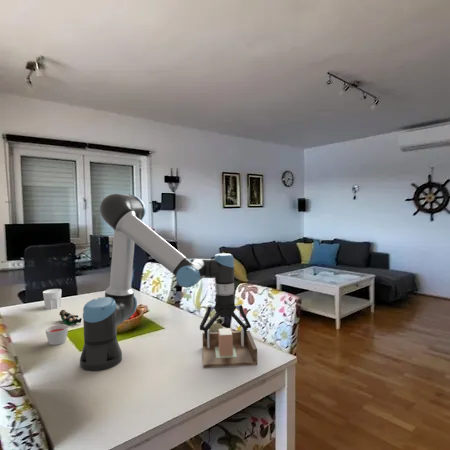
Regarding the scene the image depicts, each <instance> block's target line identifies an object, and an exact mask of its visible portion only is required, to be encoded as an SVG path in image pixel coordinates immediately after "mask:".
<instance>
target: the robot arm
mask: <svg viewBox="0 0 450 450" xmlns="http://www.w3.org/2000/svg"><path fill="white" fill-rule="evenodd" d="M99 212H100V216H101V218H102V219H103V221H105V223H106V224H108V225H109V226H110V227H111V228H112V229H113V239H112V240H113V242H112V250H111V251H112V254H111V264H110V265H111V266H110V275H109V277H110V278H109V286H108V287H107V288H106V289H105V290H104V291H105V292H104V296H103V297H97V298H94V299H91V300H89V301H87V302H86V303H85V304H84V306H83V310H82V320H83V323H82V324H83V340H84V341H83V343H84V344H83V347H82V351H81V353H80V358H79V366H80V368H81V369H82V370H84V371H92V372H93V371H94V372H95V371H96V372H97V371H103V370H107V369H110V368H112V367H114V366H116V365H118V364H120V362H121V361H122V360H123V353H122V349H121V346H120V345H119V341H118V338H117V337H118V336H117V327H118V326H120V325H121V324H123V323H124V322H125V321H127V320H129V319H130V318H131V317H132V316H133V315H134V313H135V312H136V310H137V306H138V300H137V298H136V297H135V290H134V289H133V287H132V278H133V277H132V276H133V266H134V255H135V245H137V246H139V248H141V249H142V250H143V251H145V252H146V253H147V254H148V255H150V256H151V257H152V258H153V259H154V260H155V261H156V262H158V263H159V264H160V265H162V266H163V267H164V268H165V269H167V270H168V272H170V273H171V274H173V275H174V276H175V277H176V282H177V283H178V285H180V287H182V288H191V287H194V286H196V285H197V284H199V282H200V281H201V280H202V279H214V289H215V290H214V292H215V295H214V296H215V297H214V299H215V303H214V305H210V304H208V305H207V310H206V312H205V314H204V317H203V318H202V321H201V322H200V325H199V330H200V331H202V332H203V333H204V338H205V339H207V347H208V348H209V328H210V327H211V326H212V324H214V323H216V321H217V319H219V317H221V318H230V317H231V318H233V320H235V321H236V322H237V323H238V325H239V326H240V331H241V345H242V347H243V346H244V337H246V331H248V329H251V327H252V325H251V323H250V321H249V320H248V318H247V316H246V313H245V312H244V308H243V305H242V303H239V304H236V303H235V260H234V256H233V254H231V253H216V254H215V255H214V258H195V257H194V258H187V257H186V256H185V255H184V254H183V253H181V251H179V250H177V249H176V248H175V247H174V246H172V245H171V244H170V243H169V242H168V241H166V240H165V239H164V238H163V237H162V236H160V235H159V234H158V233H157V232H155V231H154V229H152V228H150V226H149V225H147V224H145V223H144V221H142V220H143V219H144V217H145V215H146V205H145V202H143V200H142V199H141V198H140V197H139V196H136V195H134V194H129V193H128V194H127V193H126V194H124V193H111V194H108V195H107V196H105V197H103V199H102V200H101V202H100V205H99ZM235 304H236V305H235ZM235 310H237V311H238V312H240V315H241V316H242V318H243V320H244V322H245V323H244V322H243V321H242V320H241V318H240V317H238V315H237V314H236V313H235ZM213 311H215V313H214V314H213V316H212V317H211V318H210V320H209V321H208V319H209V317H210V315H211V313H212V312H213ZM207 321H208V322H207Z"/></svg>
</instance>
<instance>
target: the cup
mask: <svg viewBox="0 0 450 450" xmlns="http://www.w3.org/2000/svg"><path fill="white" fill-rule="evenodd" d="M42 295H43V296H42V297H43V301H44V308H45V309H46V310H55V309H58V308H60V307H62V289H61V288H51V289H46V290H44V291H42Z"/></svg>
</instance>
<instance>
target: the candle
mask: <svg viewBox="0 0 450 450" xmlns="http://www.w3.org/2000/svg"><path fill="white" fill-rule="evenodd" d="M44 331H45V334H46V338H47V342H48V345H51V346H58V345H61V344H64V343H65V342H66V341H67V337H68V331H69V326H68V325H66V324H55V325H51V326H49V327H47V328H46V329H45V330H44Z"/></svg>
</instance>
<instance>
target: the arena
mask: <svg viewBox="0 0 450 450" xmlns="http://www.w3.org/2000/svg"><path fill="white" fill-rule="evenodd" d="M231 331H232V330H231ZM232 335H233V346H234V347H235V351H236V355H237V357H235V358H216V352H215V347H219V332H209V348H208V347H207V339H205V338H204V332H202V362H203V363H202V364H203V365H202V367H203V368H217V367H219V368H221V367H235V366H236V367H238V366H239V367H240V366H254V365H255V366H256V365H258V348H257V344H256V343H255V341H254V337H253V335H252V332H251V331H250V330H246V337H244V346H243V347H242V345H241V330H236V331H234V330H233V331H232Z"/></svg>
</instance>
